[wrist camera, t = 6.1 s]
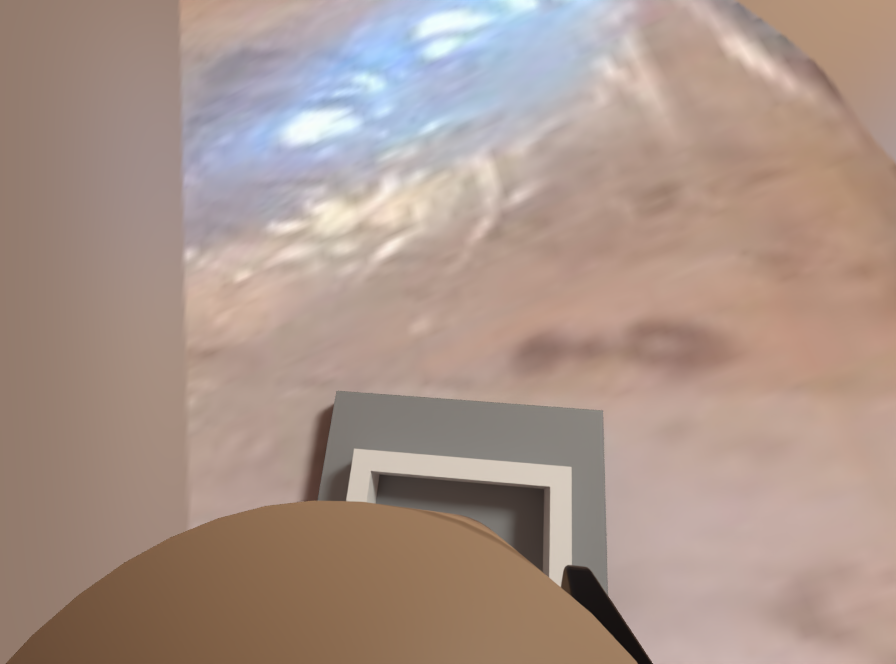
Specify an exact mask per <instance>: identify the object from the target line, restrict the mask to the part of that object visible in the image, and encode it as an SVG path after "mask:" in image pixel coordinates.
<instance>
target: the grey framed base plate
mask: <svg viewBox="0 0 896 664" xmlns="http://www.w3.org/2000/svg"><path fill="white" fill-rule="evenodd" d="M317 501H355V502H367V503H375V504H383V505H390V506H398V507H405V508H413V509H420V510H428V511H435V512H443V513H450V514H457V515H463V516H466V517H469V518H472V519H474V520H476V521H479V522H481V523H482V524H484V525H485V526H487V527H488V528H490V529H491V530H492V531H493V532H495V533H496V534H497V535H498V536H499V537H501V538H502V539H503V540H504V541H506V542H507V543H508V544H509V545H510V546H512V547H513V548H514V549H515V550H516V551H518V552H519V553H520V554H521V555H522V556H524V557H525V558H526V559H527V560H529V561H530V562H531V563H532V564H533V565H535V566H536V567H537V568H538V569H539V570H541V571H542V572H543V573H544V574H545V575H547V576H548V577H549V578H550V579H551V580H553V581H554V582H555V583H556V584H557V585H559V586H560V587H561V582H562V576H563V571H564V568H565V566H567V565H575V566H585V567H588V568H589V569H590V570H591V571H592V572H593V574H594V576H595V577H596V579H597V580H598V582H599V583H600V585H601V586H602V588H603V589H604V591H605V592H606V594H607V595H608V580H607V542H606V504H605V466H604V429H603V411H602V410H589V409H575V408H562V407H548V406H535V405H521V404H508V403H494V402H481V401H468V400H454V399H441V398H427V397H414V396H400V395H387V394H373V393H360V392H346V391H336V397H335V402H334V408H333V414H332V420H331V425H330V431H329V437H328V443H327V448H326V454H325V460H324V466H323V472H322V477H321V483H320V489H319V495H318V500H317Z"/></svg>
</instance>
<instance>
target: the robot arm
mask: <svg viewBox="0 0 896 664" xmlns="http://www.w3.org/2000/svg"><path fill="white" fill-rule="evenodd" d="M561 588H562V589H563V590H564V591H566V592H567V593H568V594H569V595H570V596H572V597H573V598H574V599H575V600H576V601H577V602H579V603H580V604H581V605H582V606H583V607H585V608H586V609H587V610H588V611H589V612H590V613H592V614H593V615H594V616H595V618H596V619H597V620H598V621H599V622H600V623H601V624H602V625H603V626H604V627H605V628H606V629H607V630H608V631H609V633H610V634H611V635H612V636H613V637H614V638H615V639H616V640H617V641H618V642H619V643H620V644H621V645H622V646H623V648H624V649H625V650H626V651H627V652H628V653H629V654H630V655H631V656H632V657H633V658H634V659H635V661H636V662H637V663H638V664H653V663H652V661H651V660H650V658H649V657H648V655H647V654H646V652H645V651H644V649H643V648H642V646H641V645H640V643H639V642H638V640H637V639H636V637H635V636H634V634H633V633H632V631H631V630H630V628H629V627H628V625H627V624H626V622H625V621H624V619H623V618H622V616H621V615H620V613H619V612H618V610H617V609H616V607H615V606H614V604H613V603H612V601H611V600H610V598H609V597H608V595H607V594H606V592H605V591H604V589H603V588H602V586H601V585H600V583H599V582H598V580H597V579H596V577H595V576H594V574H593V572H592V571H591V570H590V569H589V568H588V567H585V566H575V565H567V566H565V568H564V571H563V576H562V582H561Z"/></svg>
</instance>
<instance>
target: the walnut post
mask: <svg viewBox="0 0 896 664" xmlns="http://www.w3.org/2000/svg"><path fill="white" fill-rule="evenodd" d="M6 664H638V663H637V662H636V661H635V659H634V658H633V657H632V656H631V655H630V654H629V653H628V652H627V651H626V650H625V649H624V648H623V646H622V645H621V644H620V643H619V642H618V641H617V640H616V639H615V638H614V637H613V636H612V635H611V634H610V633H609V631H608V630H607V629H606V628H605V627H604V626H603V625H602V624H601V623H600V622H599V621H598V620H597V619H596V618H595V616H594V615H593V614H592V613H590V612H589V611H588V610H587V609H586V608H585V607H583V606H582V605H581V604H580V603H579V602H577V601H576V600H575V599H574V598H573V597H572V596H570V595H569V594H568V593H567V592H566V591H564V590H563V589H562V588H561V587H560V586H559V585H557V584H556V583H555V582H554V581H553V580H551V579H550V578H549V577H548V576H547V575H545V574H544V573H543V572H542V571H541V570H539V569H538V568H537V567H536V566H535V565H533V564H532V563H531V562H530V561H529V560H527V559H526V558H525V557H524V556H522V555H521V554H520V553H519V552H518V551H516V550H515V549H514V548H513V547H512V546H510V545H509V544H508V543H507V542H506V541H504V540H503V539H502V538H501V537H499V536H498V535H497V534H496V533H495V532H493V531H492V530H491V529H490V528H488V527H487V526H485V525H484V524H482V523H481V522H479V521H476V520H474V519H472V518H469V517H466V516H463V515H457V514H450V513H443V512H435V511H428V510H420V509H413V508H405V507H398V506H390V505H383V504H375V503H367V502H355V501H305V502H297V503H288V504H280V505H271V506H264V507H260V508H257V509H253V510H249V511H245V512H241V513H237V514H233V515H229V516H225V517H222V518H218V519H215V520H213V521H210V522H208V523H205V524H203V525H200V526H198V527H195V528H193V529H190V530H188V531H185V532H183V533H181V534H178V535H176V536H173V537H171V538H169V539H167V540H165V541H163V542H161V543H160V544H158V545H157V546H154V547H152V548H150V549H149V550H147V551H145V552H143V553H142V554H140V555H138V556H136V557H134V558H132V559H130V560H129V561H127V562H125V563H124V564H122V565H120V566H119V567H118V568H116V569H115V570H113V571H112V572H111V573H110V574H108V575H106V576H105V577H104V578H102V579H101V580H99V581H98V582H96V583H95V584H94V585H92V586H91V587H89V588H88V589H87V590H85V591H84V592H82V593H81V594H79V595H78V596H77V597H76V598H74V599H73V600H72V601H71V602H70V603H69V604H68V605H66V606H65V607H64V608H63V609H62V610H61V611H60V612H58V613H57V614H56V615H55V616H54V617H53V618H52V619H51V620H49V621H48V622H47V623H46V624H45V625H44V626H42V627H41V628H40V629H39V630H38V631H37V632H36V633H35V634H33V635H32V636H31V637H30V638H29V639H28V640H27V642H26V643H25V644H24V645H23V646H22V647H21V648H20V649H19V650H18V651H17V652H16V653H15V654H14V656H13V657H12V658H11V659H10V660H9V661H8V662H7V663H6Z"/></svg>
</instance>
